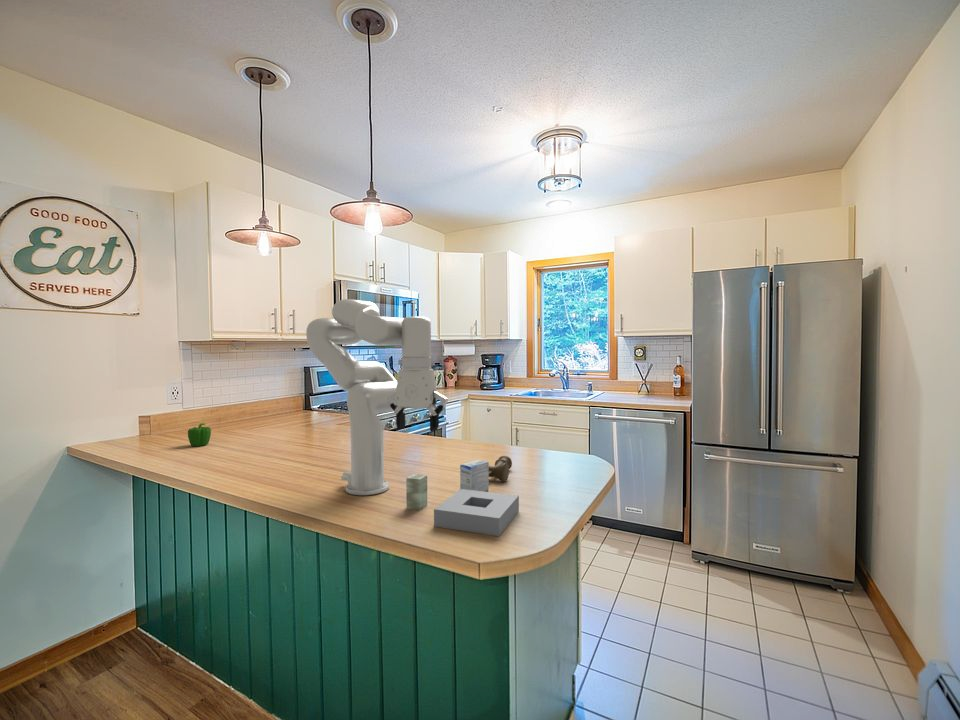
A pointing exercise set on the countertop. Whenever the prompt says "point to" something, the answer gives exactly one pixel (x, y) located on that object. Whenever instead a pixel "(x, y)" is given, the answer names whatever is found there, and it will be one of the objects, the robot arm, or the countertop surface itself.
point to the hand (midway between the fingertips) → (417, 429)
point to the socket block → (477, 512)
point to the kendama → (501, 468)
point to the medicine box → (474, 475)
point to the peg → (416, 491)
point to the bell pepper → (199, 435)
